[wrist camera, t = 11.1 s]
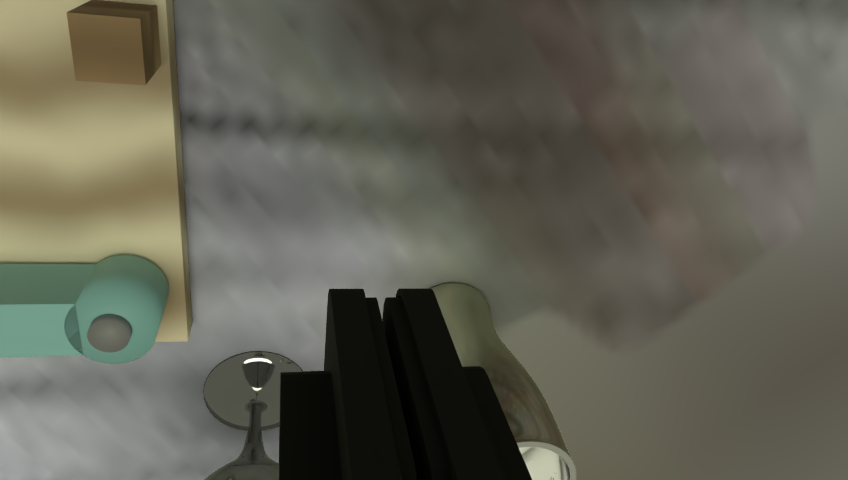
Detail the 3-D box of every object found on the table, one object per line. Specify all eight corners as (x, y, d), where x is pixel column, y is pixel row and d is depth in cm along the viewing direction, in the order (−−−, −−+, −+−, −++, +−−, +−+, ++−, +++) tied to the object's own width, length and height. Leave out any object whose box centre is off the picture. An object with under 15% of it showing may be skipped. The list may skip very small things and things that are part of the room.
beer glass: (382, 303, 43) (424, 479, 30) (475, 260, 42) (559, 417, 29) (421, 372, 46) (474, 557, 33) (508, 333, 46) (595, 502, 33)
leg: (-95, 323, 34) (-145, 378, 30) (-117, 252, 32) (-173, 301, 28) (171, 320, 37) (157, 369, 33) (166, 255, 35) (151, 300, 31)
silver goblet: (207, 441, 45) (175, 658, 32) (187, 354, 41) (142, 559, 28) (318, 426, 47) (331, 628, 34) (309, 339, 43) (319, 530, 30)
